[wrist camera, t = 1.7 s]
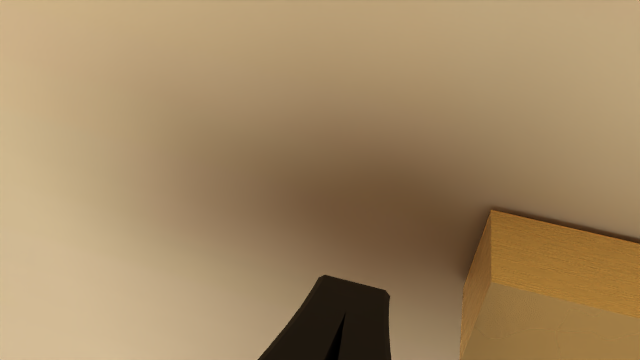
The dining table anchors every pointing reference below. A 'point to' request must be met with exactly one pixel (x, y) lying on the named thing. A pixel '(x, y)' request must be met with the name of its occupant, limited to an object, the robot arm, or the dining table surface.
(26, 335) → the dining table surface
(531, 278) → the bar
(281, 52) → the dining table surface
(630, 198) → the dining table surface
